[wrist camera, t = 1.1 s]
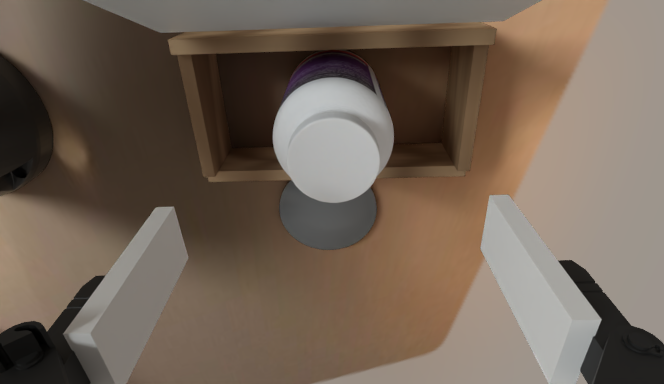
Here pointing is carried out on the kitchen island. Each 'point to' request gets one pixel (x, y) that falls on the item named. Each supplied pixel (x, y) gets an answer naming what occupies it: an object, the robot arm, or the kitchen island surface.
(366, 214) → the grey oval disc
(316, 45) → the wooden box
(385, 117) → the pill bottle
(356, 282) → the kitchen island surface
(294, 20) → the lid
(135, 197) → the kitchen island surface
